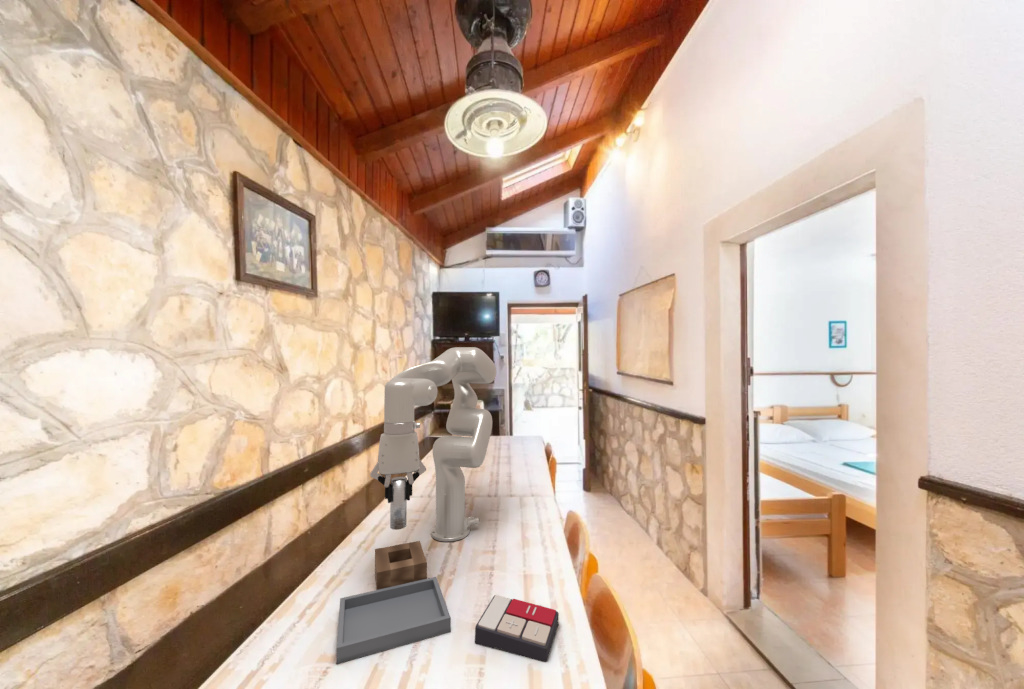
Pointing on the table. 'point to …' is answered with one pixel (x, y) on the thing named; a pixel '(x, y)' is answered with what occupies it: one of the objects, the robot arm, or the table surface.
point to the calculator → (517, 628)
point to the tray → (390, 618)
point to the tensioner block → (399, 565)
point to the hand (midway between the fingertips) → (398, 499)
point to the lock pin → (398, 503)
